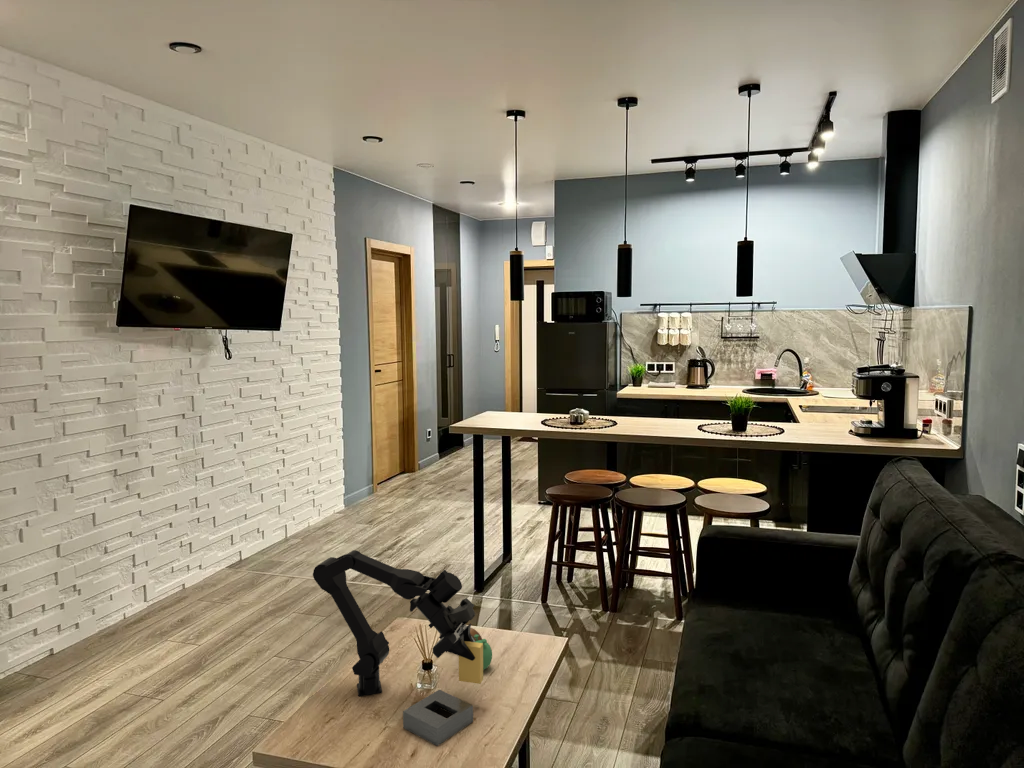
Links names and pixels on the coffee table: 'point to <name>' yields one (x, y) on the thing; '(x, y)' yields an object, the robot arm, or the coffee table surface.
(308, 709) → the coffee table surface
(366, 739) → the coffee table surface
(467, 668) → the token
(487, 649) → the alien toy
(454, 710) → the box
